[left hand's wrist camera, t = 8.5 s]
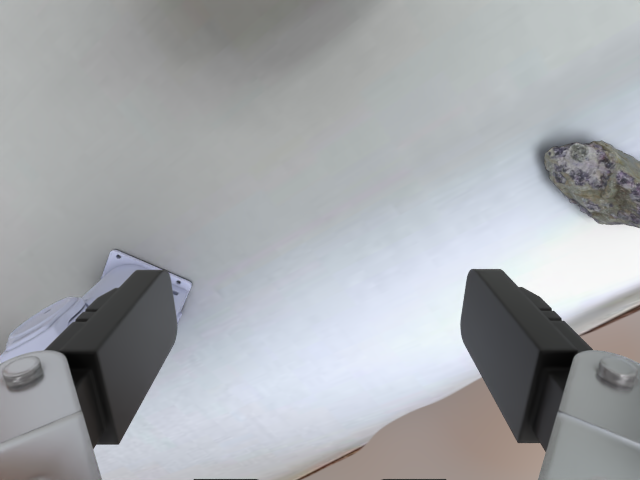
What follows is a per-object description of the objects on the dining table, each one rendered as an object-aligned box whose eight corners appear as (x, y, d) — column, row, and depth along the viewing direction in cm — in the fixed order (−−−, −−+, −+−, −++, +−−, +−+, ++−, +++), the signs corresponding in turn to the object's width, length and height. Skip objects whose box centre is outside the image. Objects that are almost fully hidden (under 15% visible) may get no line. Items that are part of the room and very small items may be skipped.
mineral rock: (529, 148, 41) (590, 169, 32) (634, 87, 39) (733, 89, 30) (574, 247, 45) (640, 291, 36) (672, 196, 43) (770, 229, 34)
